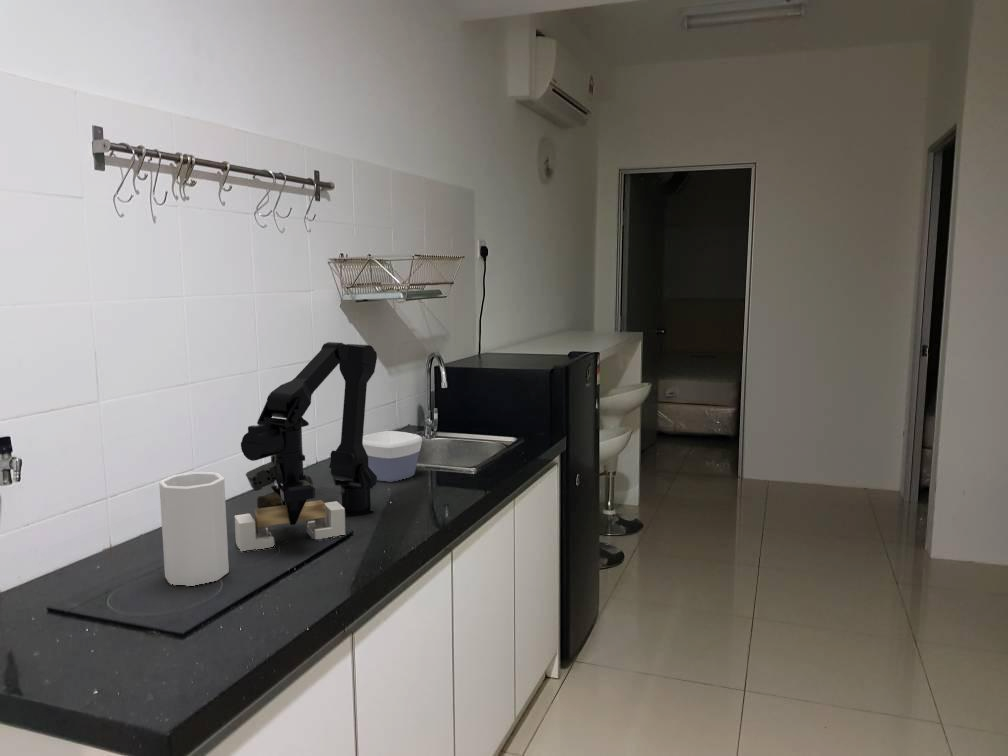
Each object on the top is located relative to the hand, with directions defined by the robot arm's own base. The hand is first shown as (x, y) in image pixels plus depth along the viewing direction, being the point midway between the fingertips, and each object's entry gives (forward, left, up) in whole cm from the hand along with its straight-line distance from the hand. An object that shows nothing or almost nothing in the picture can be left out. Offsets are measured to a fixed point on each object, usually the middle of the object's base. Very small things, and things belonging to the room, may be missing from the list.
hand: (291, 522), depth 163 cm
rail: (0, 0, -2) cm, 2 cm away
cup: (+20, +12, -4) cm, 24 cm away
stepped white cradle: (0, 0, -4) cm, 4 cm away
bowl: (-36, -38, -4) cm, 53 cm away
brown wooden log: (-5, -29, -4) cm, 30 cm away
